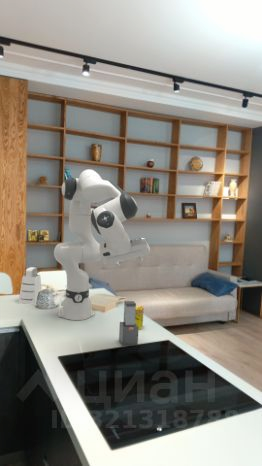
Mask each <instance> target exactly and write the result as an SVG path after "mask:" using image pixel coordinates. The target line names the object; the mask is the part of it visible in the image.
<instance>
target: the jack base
mask: <svg viewBox="0 0 262 466" xmlns="http://www.w3.org/2000/svg"><path fill="white" fill-rule="evenodd" d="M123 322H124V321H120V322H119V328H118V329H119V334H118V341H119V343H120V345H121V346H122V347H123V346H124V347H125V346H127V347H129V346H138V345H139V344H138V343H139V331H140V330H139V327H138V325H137V324H136V323H135V326H124V324H123Z"/></svg>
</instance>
